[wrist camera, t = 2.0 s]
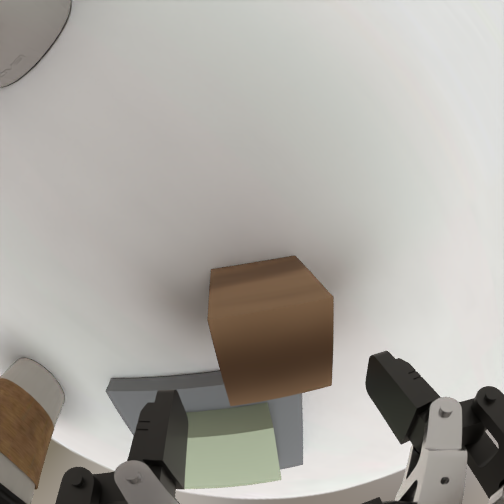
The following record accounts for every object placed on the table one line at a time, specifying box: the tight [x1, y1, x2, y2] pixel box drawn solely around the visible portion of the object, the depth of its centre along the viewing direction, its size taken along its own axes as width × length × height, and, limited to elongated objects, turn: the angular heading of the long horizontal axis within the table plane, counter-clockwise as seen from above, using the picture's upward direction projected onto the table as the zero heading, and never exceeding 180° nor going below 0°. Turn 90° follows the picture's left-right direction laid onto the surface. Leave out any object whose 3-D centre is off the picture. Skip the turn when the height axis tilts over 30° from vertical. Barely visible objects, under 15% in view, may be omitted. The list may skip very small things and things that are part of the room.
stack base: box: [106, 371, 303, 489], centre depth 18 cm, size 14×14×4 cm
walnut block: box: [208, 256, 333, 406], centre depth 14 cm, size 5×5×6 cm
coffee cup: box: [0, 358, 65, 504], centre depth 10 cm, size 8×8×15 cm
